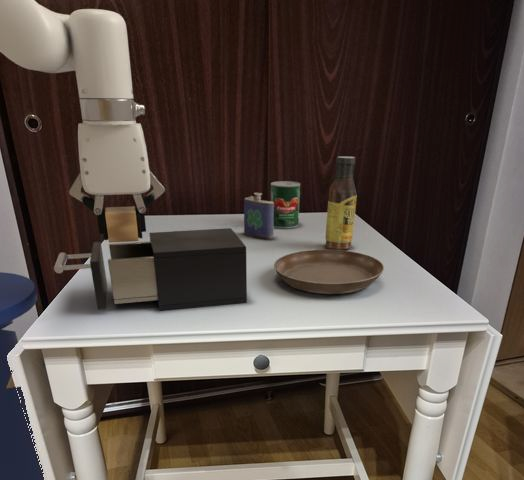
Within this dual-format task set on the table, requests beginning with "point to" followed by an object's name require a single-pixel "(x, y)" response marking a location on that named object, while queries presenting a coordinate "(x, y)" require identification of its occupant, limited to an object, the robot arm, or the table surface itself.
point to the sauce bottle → (341, 206)
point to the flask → (258, 217)
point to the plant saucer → (328, 271)
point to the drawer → (119, 272)
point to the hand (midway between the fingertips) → (123, 236)
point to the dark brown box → (199, 268)
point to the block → (121, 224)
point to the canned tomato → (285, 204)
